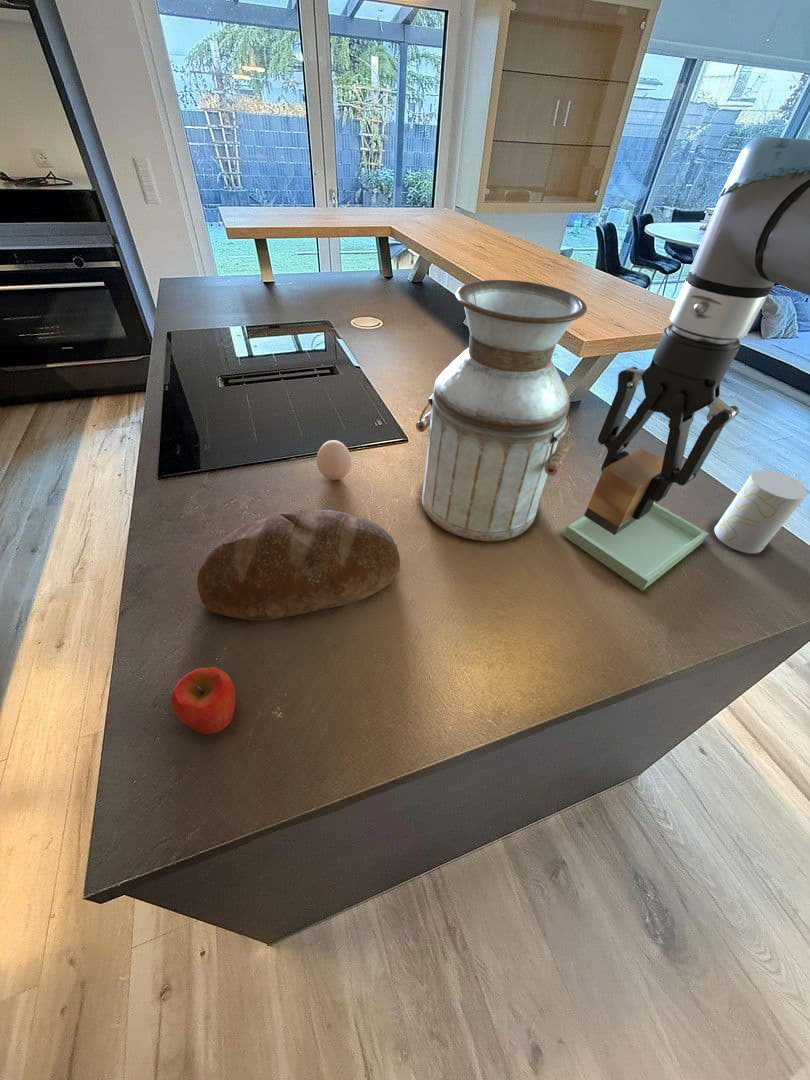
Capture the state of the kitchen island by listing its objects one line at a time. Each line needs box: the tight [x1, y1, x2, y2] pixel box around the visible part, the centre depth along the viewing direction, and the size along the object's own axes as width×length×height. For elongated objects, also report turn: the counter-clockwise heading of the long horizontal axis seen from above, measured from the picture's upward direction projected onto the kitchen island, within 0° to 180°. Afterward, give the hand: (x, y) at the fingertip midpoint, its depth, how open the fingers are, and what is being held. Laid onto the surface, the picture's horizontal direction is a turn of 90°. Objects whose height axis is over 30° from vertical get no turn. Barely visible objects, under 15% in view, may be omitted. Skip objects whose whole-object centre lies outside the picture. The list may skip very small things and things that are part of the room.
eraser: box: [583, 447, 664, 535], centre depth 63 cm, size 5×9×8 cm, turn 128°
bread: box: [196, 509, 401, 622], centre depth 67 cm, size 16×29×11 cm, turn 107°
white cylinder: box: [714, 469, 808, 554], centre depth 80 cm, size 8×8×12 cm
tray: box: [563, 502, 709, 592], centre depth 81 cm, size 16×20×2 cm
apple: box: [170, 666, 236, 735], centre depth 52 cm, size 6×6×8 cm
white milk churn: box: [415, 279, 588, 542], centre depth 75 cm, size 25×22×36 cm
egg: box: [316, 439, 353, 481], centre depth 88 cm, size 7×7×8 cm
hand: (621, 503), depth 64 cm, fingers closed on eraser, 5 cm apart
